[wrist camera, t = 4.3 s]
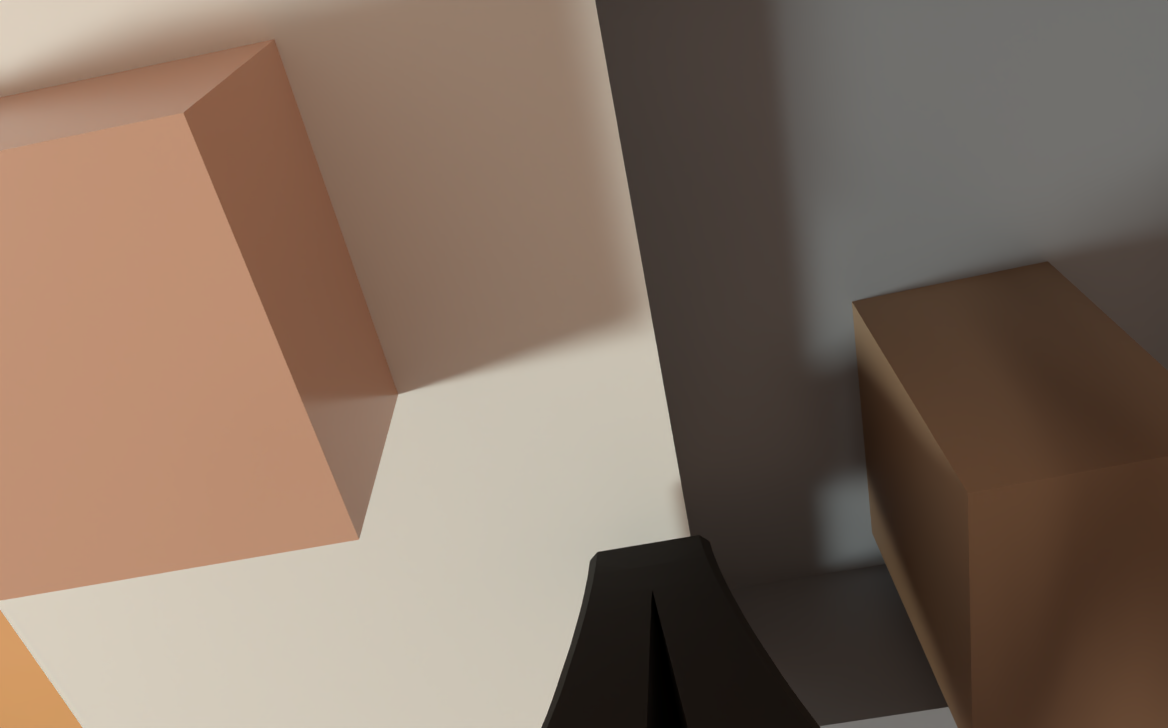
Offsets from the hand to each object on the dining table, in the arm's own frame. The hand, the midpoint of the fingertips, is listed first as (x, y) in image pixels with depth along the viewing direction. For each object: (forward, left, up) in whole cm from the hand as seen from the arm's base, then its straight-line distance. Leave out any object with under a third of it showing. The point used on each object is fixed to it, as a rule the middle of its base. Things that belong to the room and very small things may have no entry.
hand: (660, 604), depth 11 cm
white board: (+2, +4, -3) cm, 6 cm away
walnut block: (0, -3, -1) cm, 3 cm away
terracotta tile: (+5, +4, -1) cm, 7 cm away
